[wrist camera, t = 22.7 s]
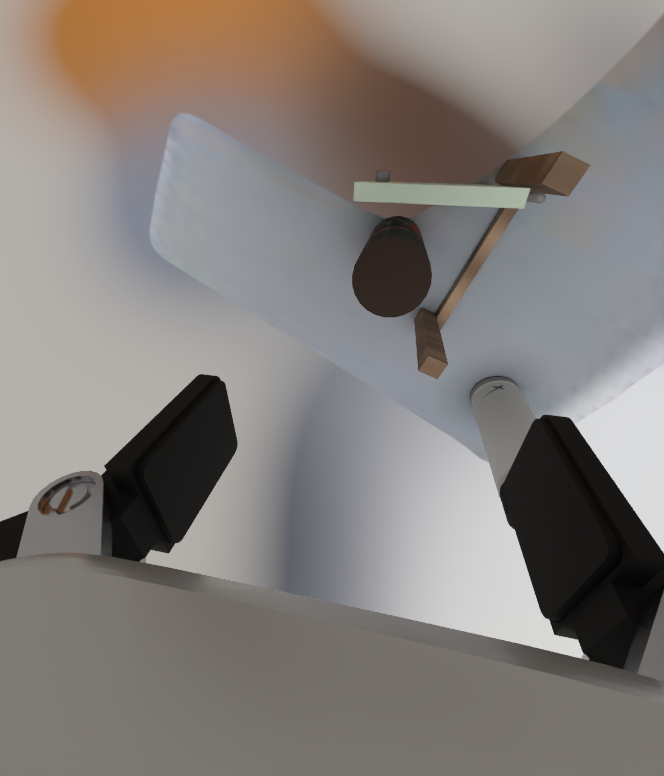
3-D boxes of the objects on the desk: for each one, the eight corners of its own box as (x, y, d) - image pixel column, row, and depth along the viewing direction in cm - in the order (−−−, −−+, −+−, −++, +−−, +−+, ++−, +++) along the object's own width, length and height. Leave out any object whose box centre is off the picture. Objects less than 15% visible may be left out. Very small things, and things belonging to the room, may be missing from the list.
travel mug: (483, 368, 42) (534, 488, 26) (529, 385, 43) (607, 515, 26) (459, 402, 46) (489, 526, 30) (500, 418, 46) (554, 550, 30)
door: (509, 175, 30) (559, 174, 21) (502, 199, 32) (547, 209, 22) (369, 171, 32) (355, 168, 23) (367, 194, 33) (353, 201, 24)
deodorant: (366, 221, 35) (346, 245, 23) (420, 211, 34) (431, 230, 22) (372, 275, 38) (357, 321, 26) (422, 268, 37) (432, 313, 25)
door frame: (506, 160, 30) (562, 151, 20) (536, 174, 31) (607, 173, 20) (414, 320, 41) (418, 370, 30) (436, 330, 41) (448, 384, 30)
